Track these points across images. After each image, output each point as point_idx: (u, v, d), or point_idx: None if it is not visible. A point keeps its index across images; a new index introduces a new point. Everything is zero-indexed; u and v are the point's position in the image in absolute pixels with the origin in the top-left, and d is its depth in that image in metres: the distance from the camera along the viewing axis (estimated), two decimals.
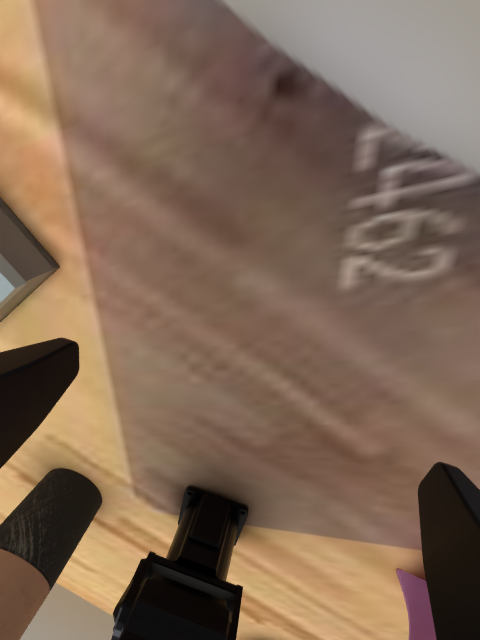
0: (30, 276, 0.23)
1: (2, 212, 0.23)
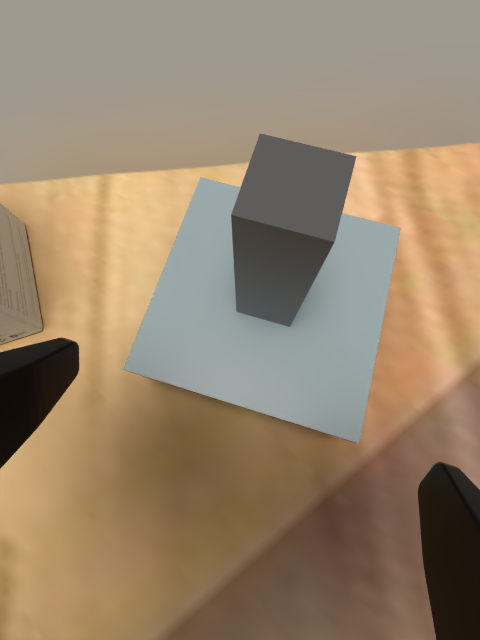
0: None
1: None
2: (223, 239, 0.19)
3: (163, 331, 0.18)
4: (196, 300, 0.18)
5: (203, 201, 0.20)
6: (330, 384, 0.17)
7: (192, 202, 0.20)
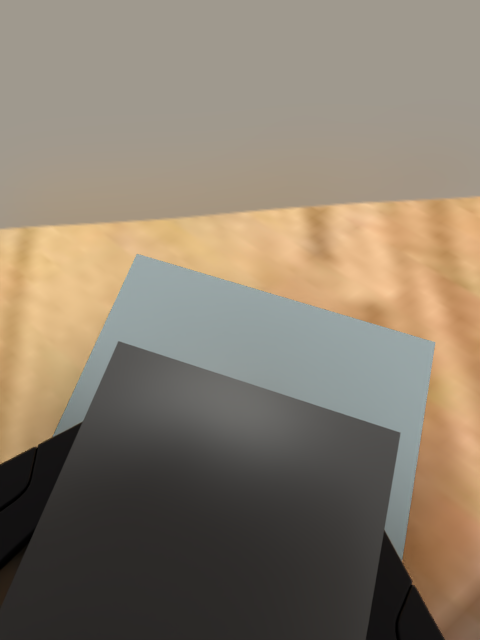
0: None
1: None
2: (163, 356, 0.13)
3: None
4: None
5: (138, 292, 0.13)
6: None
7: (121, 293, 0.13)
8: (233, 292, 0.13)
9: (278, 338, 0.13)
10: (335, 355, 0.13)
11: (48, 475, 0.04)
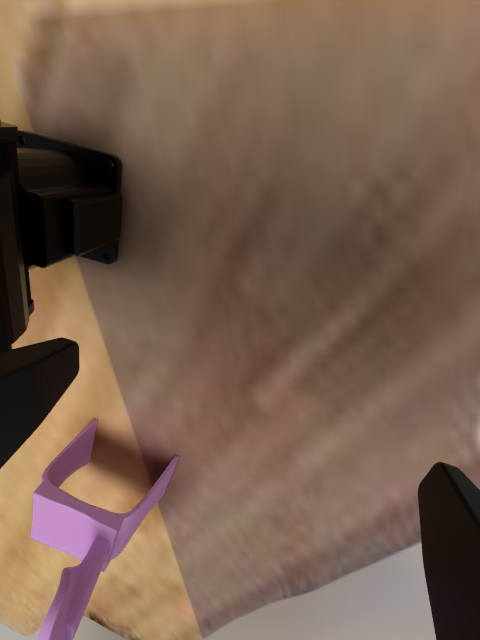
0: None
1: None
2: None
3: None
4: None
5: None
6: None
7: None
8: None
9: None
10: None
11: None
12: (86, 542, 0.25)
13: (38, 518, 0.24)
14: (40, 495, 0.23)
